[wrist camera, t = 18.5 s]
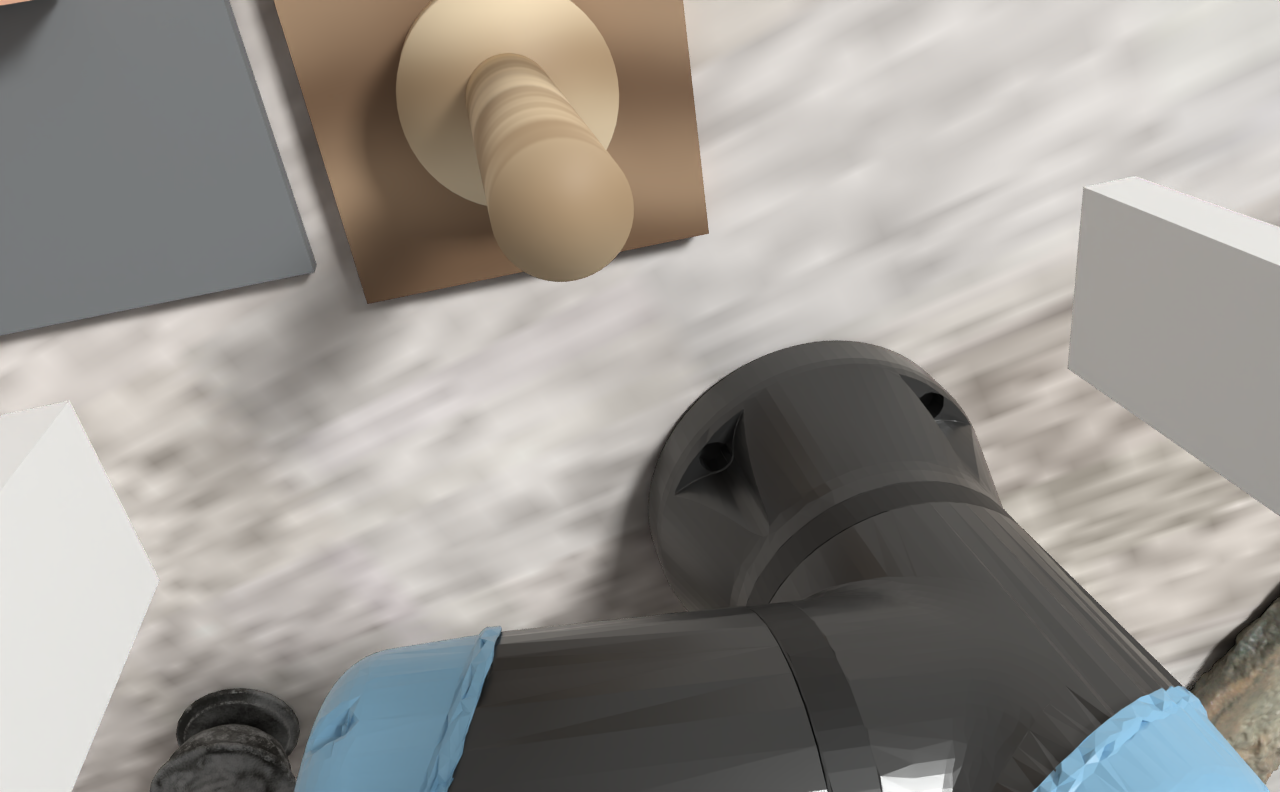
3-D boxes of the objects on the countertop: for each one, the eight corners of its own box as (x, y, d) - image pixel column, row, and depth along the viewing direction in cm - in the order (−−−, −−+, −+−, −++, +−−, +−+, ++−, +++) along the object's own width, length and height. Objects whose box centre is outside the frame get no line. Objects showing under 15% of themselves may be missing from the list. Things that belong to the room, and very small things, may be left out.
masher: (620, 168, 33) (751, 336, 20) (428, 207, 33) (429, 409, 19) (587, -43, 30) (717, -13, 17) (372, -6, 29) (325, 58, 16)
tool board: (702, 225, 36) (708, 233, 35) (369, 294, 35) (367, 303, 34) (658, -158, 30) (665, -160, 29) (250, -93, 29) (244, -94, 28)
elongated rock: (1428, 515, 55) (1315, 465, 52) (1519, 564, 50) (1401, 512, 47) (1102, 925, 65) (992, 903, 62) (1153, 998, 60) (1036, 978, 57)
